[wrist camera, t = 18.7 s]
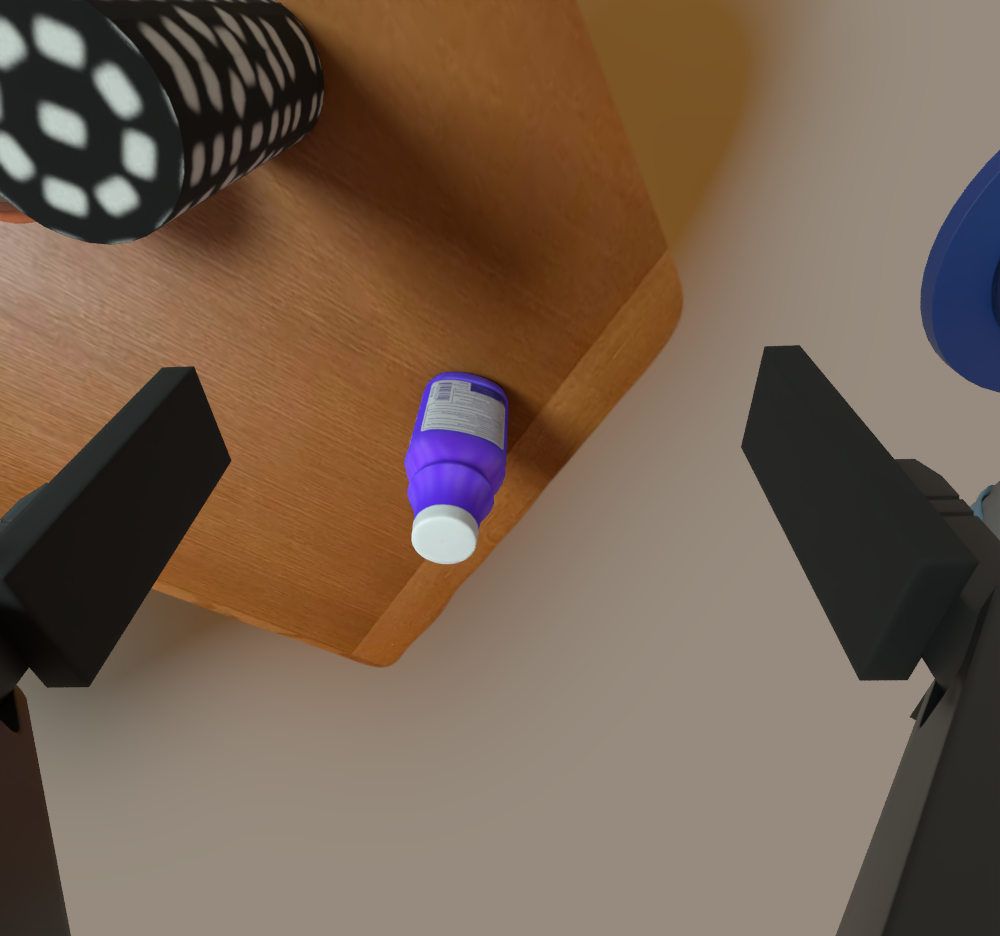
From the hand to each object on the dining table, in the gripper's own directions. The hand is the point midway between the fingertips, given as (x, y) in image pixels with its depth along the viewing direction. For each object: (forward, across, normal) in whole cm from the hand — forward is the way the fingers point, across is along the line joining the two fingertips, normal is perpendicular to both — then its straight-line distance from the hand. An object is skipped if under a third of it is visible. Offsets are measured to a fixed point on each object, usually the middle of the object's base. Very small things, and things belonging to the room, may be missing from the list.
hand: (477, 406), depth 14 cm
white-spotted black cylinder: (+32, -15, +5) cm, 36 cm away
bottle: (+32, -4, -18) cm, 37 cm away
